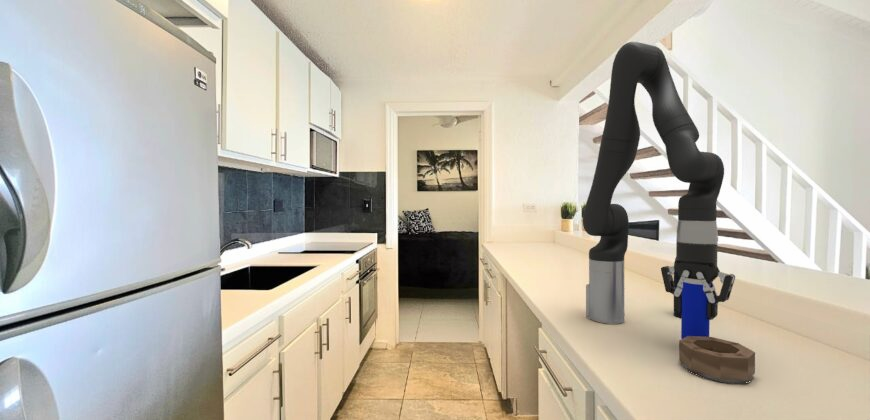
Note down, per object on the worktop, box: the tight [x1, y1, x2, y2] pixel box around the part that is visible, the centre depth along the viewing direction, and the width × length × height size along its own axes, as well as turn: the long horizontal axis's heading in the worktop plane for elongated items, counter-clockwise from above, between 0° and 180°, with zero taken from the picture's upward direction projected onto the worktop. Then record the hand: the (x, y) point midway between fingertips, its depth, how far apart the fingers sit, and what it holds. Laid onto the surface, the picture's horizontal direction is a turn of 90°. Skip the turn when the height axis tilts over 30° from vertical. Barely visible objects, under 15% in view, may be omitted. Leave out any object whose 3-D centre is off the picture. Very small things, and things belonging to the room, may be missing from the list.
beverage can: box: [680, 278, 711, 340], centre depth 83 cm, size 5×5×15 cm
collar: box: [678, 336, 756, 384], centre depth 72 cm, size 11×11×5 cm
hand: (695, 315), depth 83 cm, fingers closed on beverage can, 5 cm apart
